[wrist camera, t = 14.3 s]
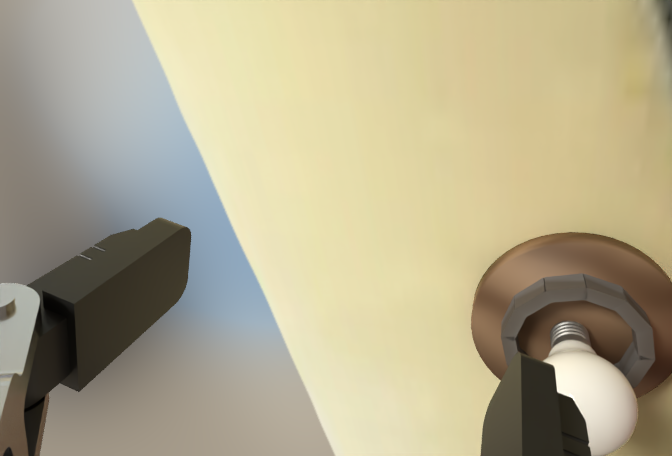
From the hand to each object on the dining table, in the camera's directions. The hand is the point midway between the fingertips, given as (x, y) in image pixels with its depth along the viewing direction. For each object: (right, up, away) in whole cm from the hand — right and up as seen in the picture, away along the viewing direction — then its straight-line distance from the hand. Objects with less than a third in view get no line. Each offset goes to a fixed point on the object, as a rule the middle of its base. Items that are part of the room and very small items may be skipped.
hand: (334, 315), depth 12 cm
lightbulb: (+18, -6, +27) cm, 33 cm away
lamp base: (+19, -5, +28) cm, 34 cm away
